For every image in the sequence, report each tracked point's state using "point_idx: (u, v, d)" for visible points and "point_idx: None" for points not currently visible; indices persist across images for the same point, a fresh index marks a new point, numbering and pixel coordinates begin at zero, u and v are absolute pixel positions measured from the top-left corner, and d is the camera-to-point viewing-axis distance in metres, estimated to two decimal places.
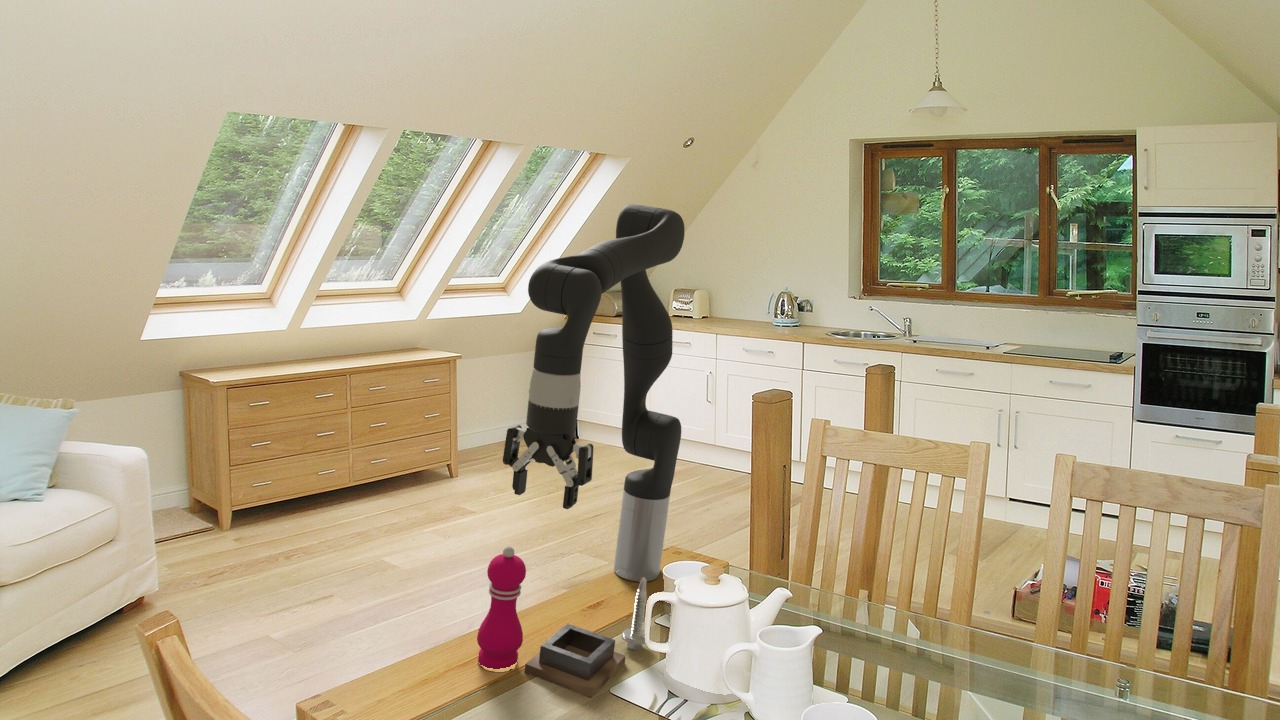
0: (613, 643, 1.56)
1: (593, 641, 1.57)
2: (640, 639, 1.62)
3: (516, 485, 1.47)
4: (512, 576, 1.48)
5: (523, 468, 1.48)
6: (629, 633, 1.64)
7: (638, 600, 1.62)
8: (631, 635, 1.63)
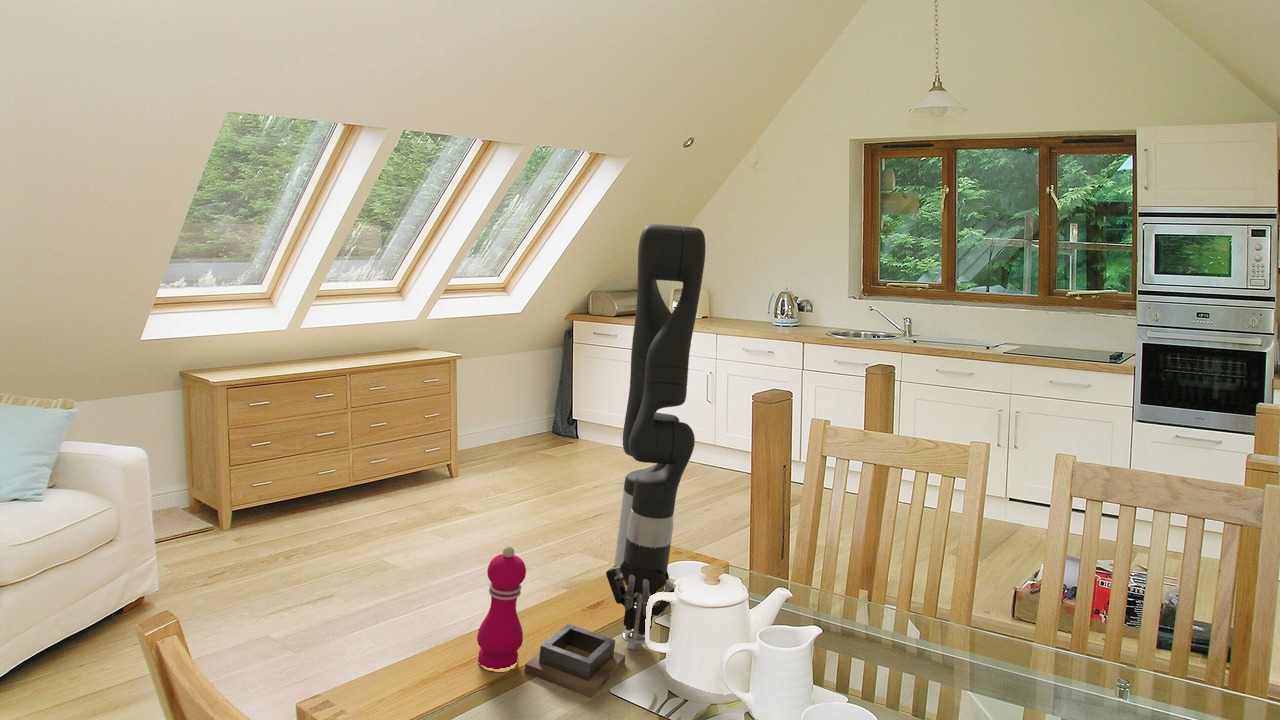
0: (613, 643, 1.56)
1: (593, 641, 1.57)
2: (640, 639, 1.62)
3: (628, 622, 1.63)
4: (512, 576, 1.48)
5: (634, 606, 1.63)
6: (629, 633, 1.64)
7: (638, 600, 1.62)
8: (631, 635, 1.63)
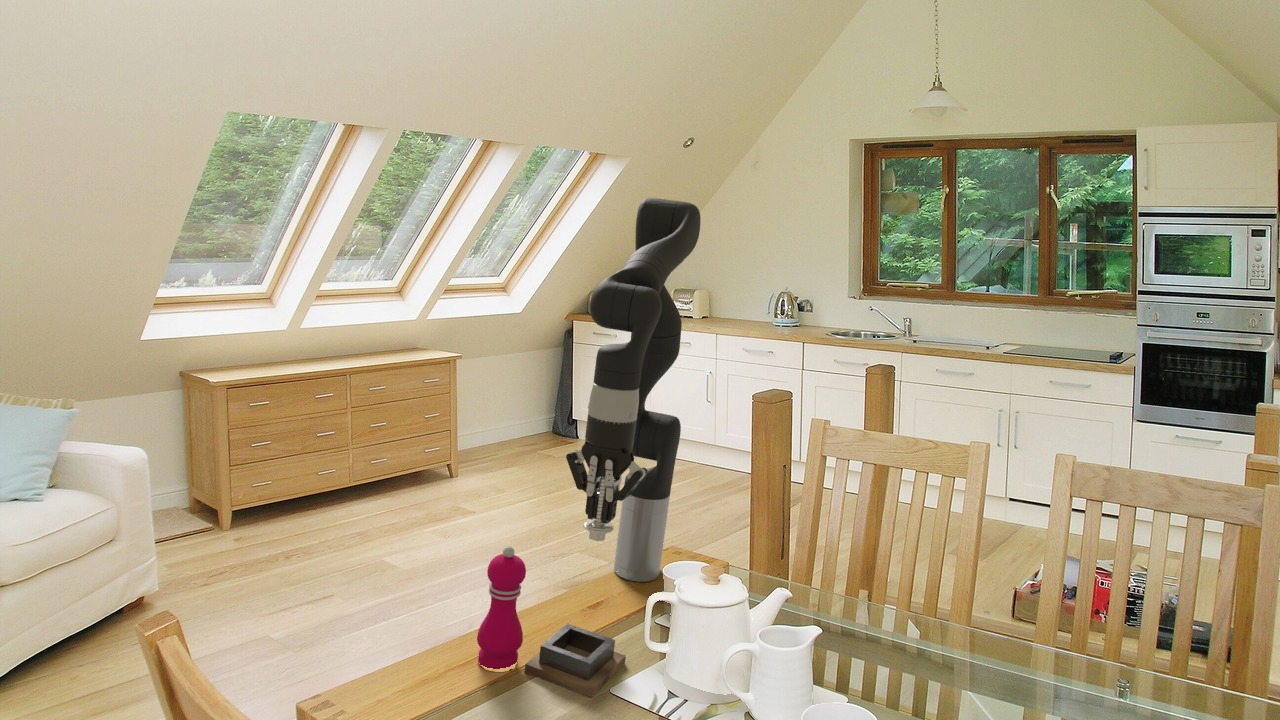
0: (613, 643, 1.56)
1: (593, 641, 1.57)
2: (603, 528, 1.49)
3: (589, 510, 1.49)
4: (512, 576, 1.48)
5: (596, 493, 1.50)
6: (591, 522, 1.50)
7: (601, 485, 1.48)
8: (593, 524, 1.50)
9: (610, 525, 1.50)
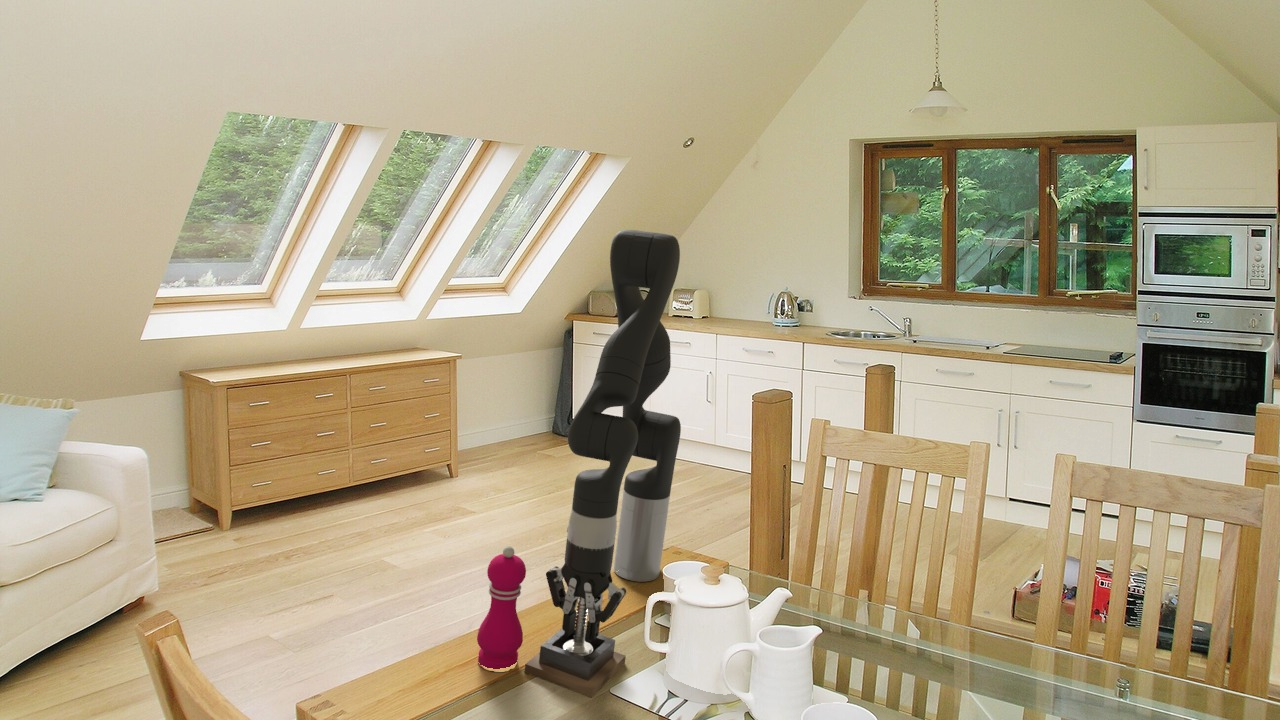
0: (613, 643, 1.56)
1: (593, 641, 1.57)
2: (582, 652, 1.53)
3: (566, 626, 1.54)
4: (512, 576, 1.48)
5: (573, 610, 1.54)
6: (571, 645, 1.54)
7: (579, 610, 1.52)
8: (573, 647, 1.54)
9: (589, 647, 1.54)
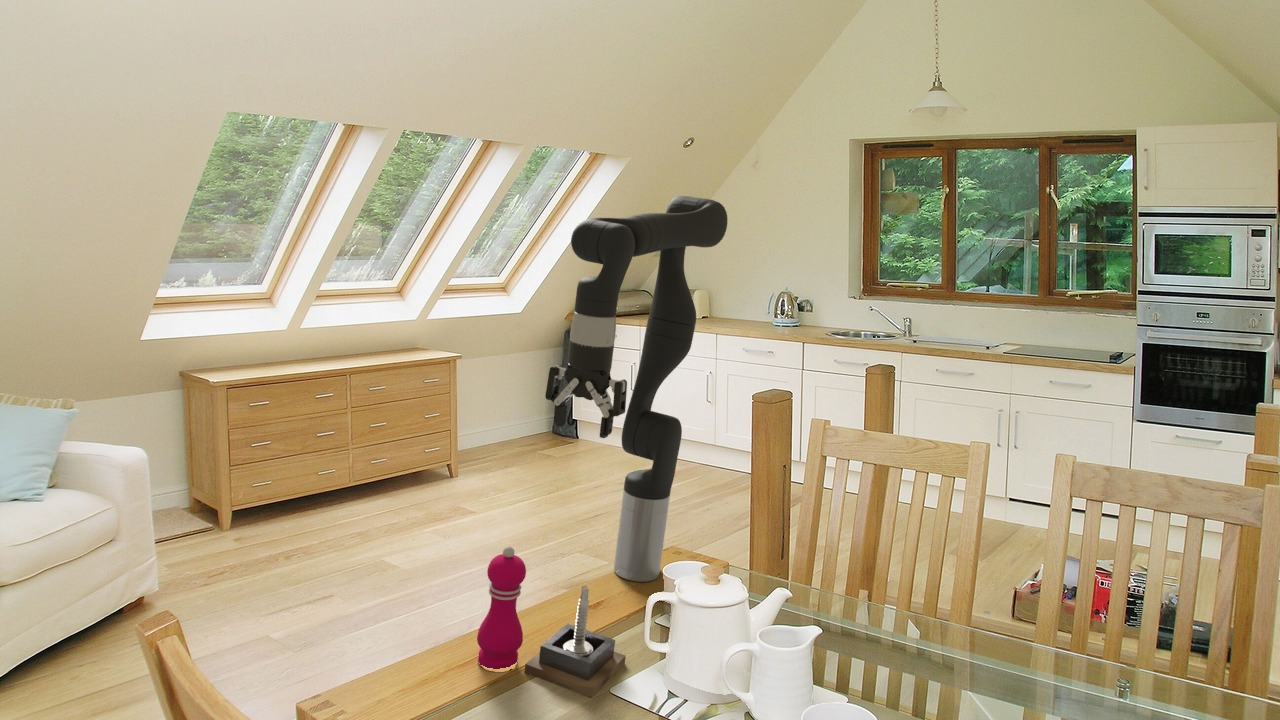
0: (613, 643, 1.56)
1: (593, 641, 1.57)
2: (582, 651, 1.53)
3: (557, 418, 1.66)
4: (512, 576, 1.48)
5: (563, 403, 1.66)
6: (571, 645, 1.54)
7: (580, 610, 1.52)
8: (573, 647, 1.54)
9: (589, 647, 1.54)
